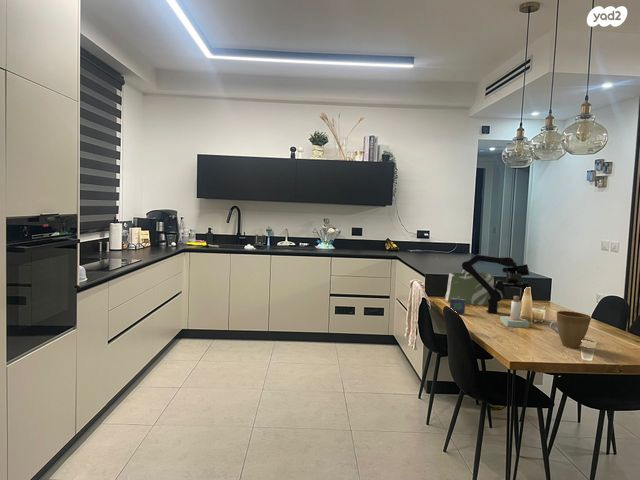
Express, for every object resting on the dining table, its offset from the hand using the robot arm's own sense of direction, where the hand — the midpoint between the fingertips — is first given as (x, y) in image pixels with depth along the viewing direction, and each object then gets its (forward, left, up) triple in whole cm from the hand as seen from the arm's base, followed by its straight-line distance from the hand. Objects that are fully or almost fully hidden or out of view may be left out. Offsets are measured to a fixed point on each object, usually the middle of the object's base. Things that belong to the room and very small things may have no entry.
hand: (512, 297), depth 273 cm
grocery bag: (-45, -13, -14) cm, 49 cm away
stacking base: (+11, -2, -14) cm, 17 cm away
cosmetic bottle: (+11, -2, -10) cm, 15 cm away
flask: (-8, -30, -14) cm, 34 cm away
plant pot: (+48, +12, -14) cm, 51 cm away
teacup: (+32, +16, -14) cm, 38 cm away
